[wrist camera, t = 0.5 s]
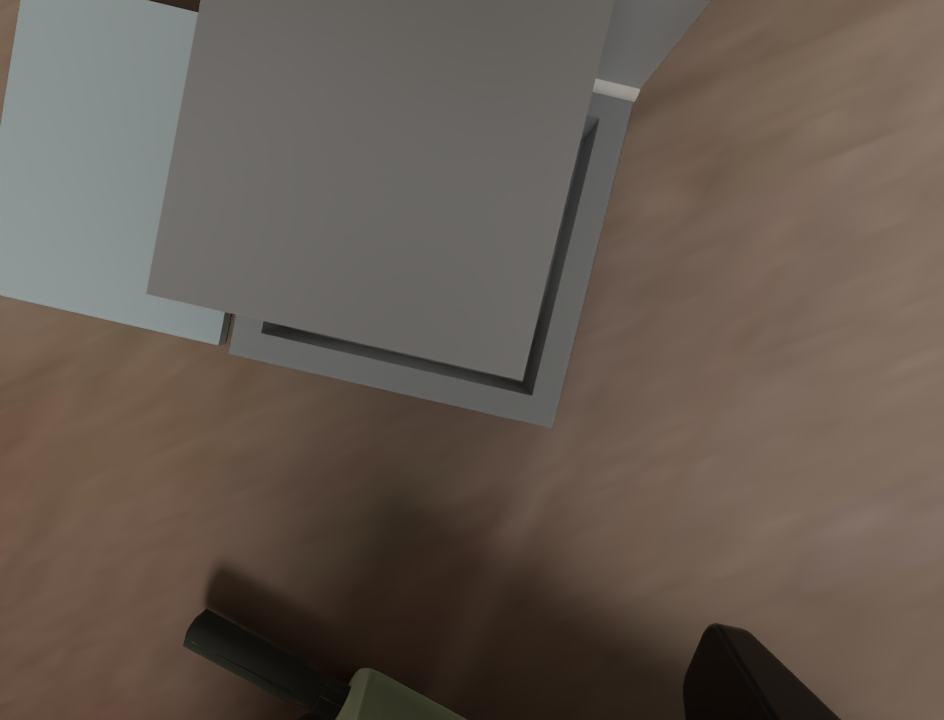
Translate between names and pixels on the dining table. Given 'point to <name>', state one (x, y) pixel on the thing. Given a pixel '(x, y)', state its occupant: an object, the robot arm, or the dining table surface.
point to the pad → (94, 159)
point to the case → (537, 397)
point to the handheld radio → (307, 677)
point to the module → (379, 168)
